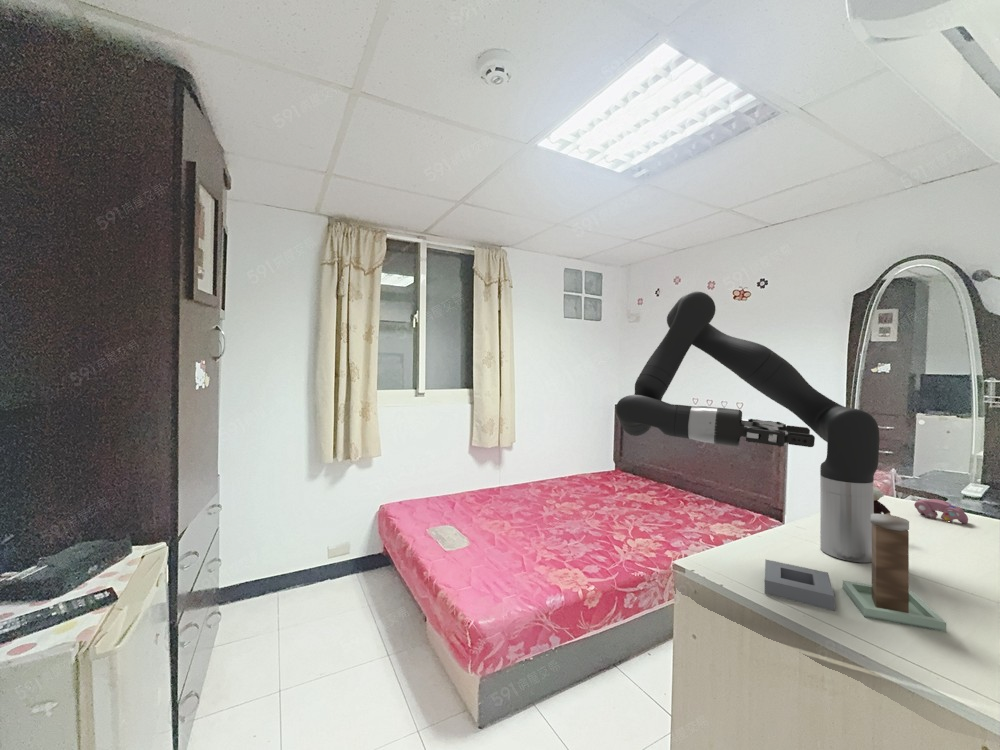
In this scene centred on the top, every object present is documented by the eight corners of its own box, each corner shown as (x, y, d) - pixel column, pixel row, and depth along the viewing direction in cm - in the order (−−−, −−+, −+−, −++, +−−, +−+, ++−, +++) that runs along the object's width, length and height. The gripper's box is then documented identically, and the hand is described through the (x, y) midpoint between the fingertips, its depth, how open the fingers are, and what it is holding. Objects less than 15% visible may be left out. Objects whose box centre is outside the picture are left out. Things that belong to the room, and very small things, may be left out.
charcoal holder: (764, 596, 75) (764, 579, 75) (765, 574, 83) (765, 559, 83) (834, 613, 69) (834, 596, 69) (828, 588, 78) (827, 572, 78)
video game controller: (915, 520, 119) (910, 500, 117) (921, 510, 120) (916, 491, 119) (965, 531, 110) (960, 510, 108) (970, 521, 112) (966, 500, 110)
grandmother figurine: (851, 532, 105) (851, 483, 105) (860, 530, 107) (860, 482, 107) (888, 544, 98) (888, 491, 98) (897, 541, 99) (897, 489, 99)
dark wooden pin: (873, 608, 70) (873, 519, 70) (868, 596, 74) (868, 511, 74) (912, 618, 67) (912, 525, 67) (905, 604, 71) (905, 517, 71)
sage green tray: (842, 590, 77) (842, 580, 77) (912, 602, 73) (912, 591, 73) (864, 620, 68) (864, 607, 68) (946, 635, 64) (946, 622, 64)
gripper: (712, 411, 79) (818, 422, 70) (718, 404, 91) (809, 413, 82) (709, 449, 79) (814, 465, 71) (716, 437, 91) (806, 449, 83)
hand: (811, 437), depth 76 cm, fingers open, 8 cm apart
